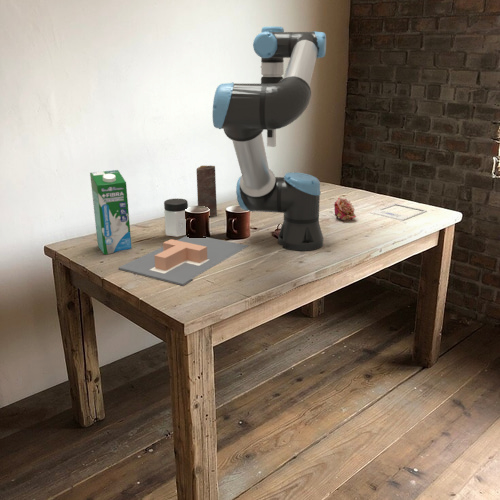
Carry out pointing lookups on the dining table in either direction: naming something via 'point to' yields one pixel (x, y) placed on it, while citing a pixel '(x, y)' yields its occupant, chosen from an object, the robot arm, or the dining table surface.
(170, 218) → the jar
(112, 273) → the dining table surface
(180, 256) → the t block
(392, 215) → the photo frame
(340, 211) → the flower
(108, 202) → the milk carton
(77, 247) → the dining table surface
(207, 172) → the candle
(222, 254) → the mat
